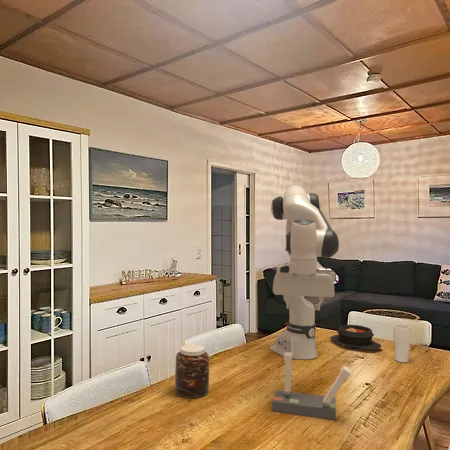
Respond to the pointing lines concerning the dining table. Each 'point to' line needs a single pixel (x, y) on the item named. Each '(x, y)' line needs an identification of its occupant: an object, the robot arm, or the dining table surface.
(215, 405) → the dining table surface
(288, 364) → the lever
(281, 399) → the panel
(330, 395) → the on lever
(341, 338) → the casserole
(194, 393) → the jar
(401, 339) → the drinking glass
